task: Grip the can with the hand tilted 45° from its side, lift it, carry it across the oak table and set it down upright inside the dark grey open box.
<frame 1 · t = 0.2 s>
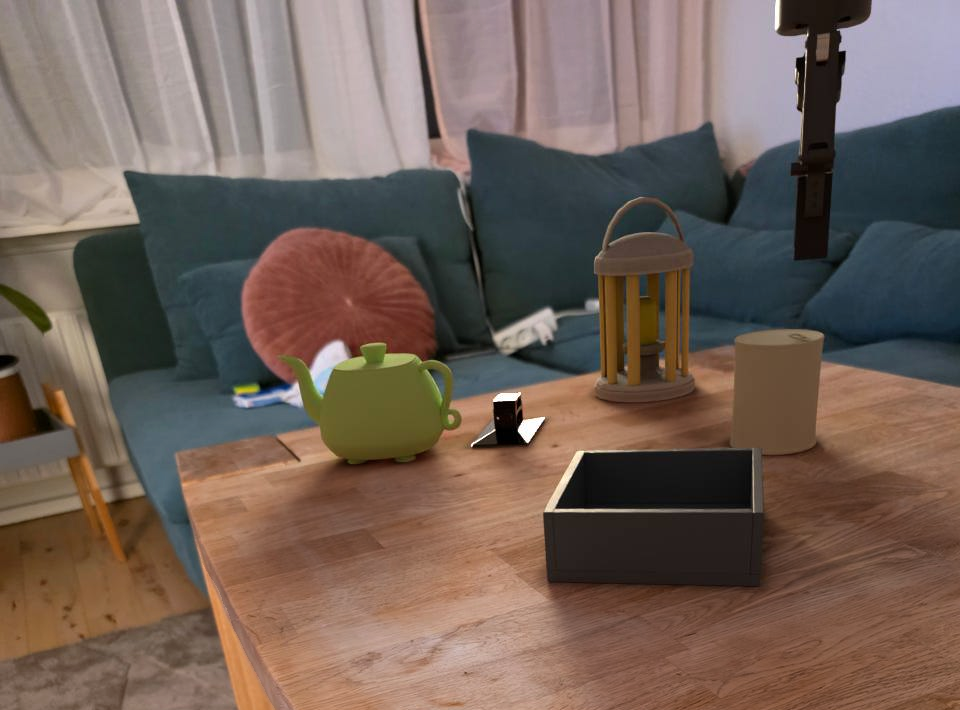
hand: (809, 252, 82), 21 cm above the table, tool pointing down, fingers open, 13 cm apart
lantern: (644, 391, 128), on the table
teapot: (379, 454, 112), on the table
can: (772, 445, 100), on the table
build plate: (510, 434, 115), on the table
dark grey open box: (659, 544, 77), on the table
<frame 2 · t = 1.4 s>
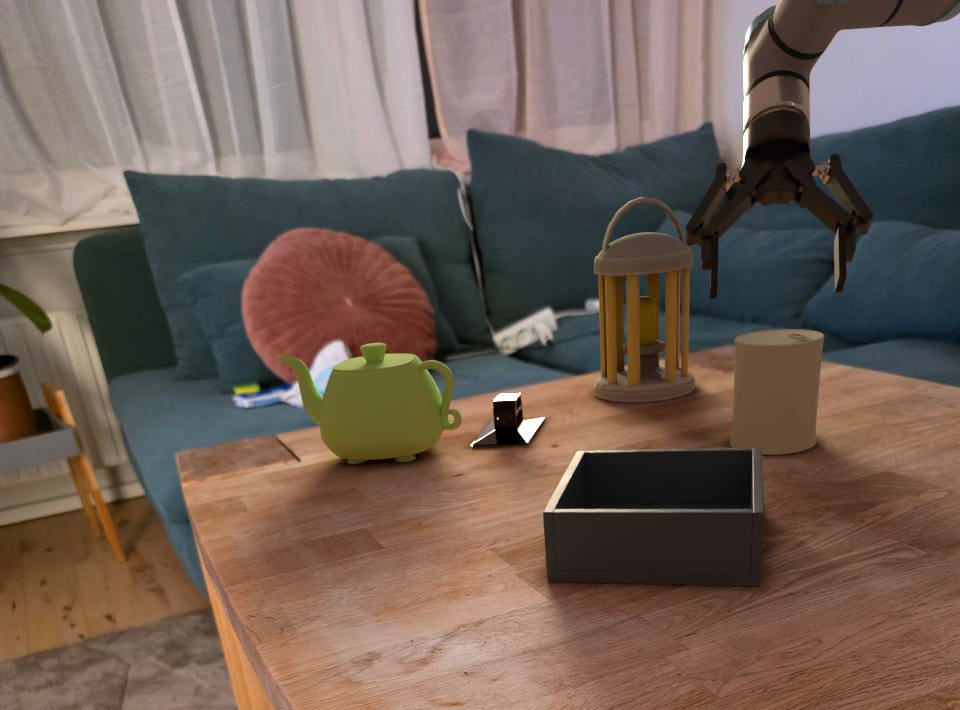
hand: (776, 288, 100), 15 cm above the table, tool tilted 45°, fingers open, 13 cm apart
nothing on the table moved.
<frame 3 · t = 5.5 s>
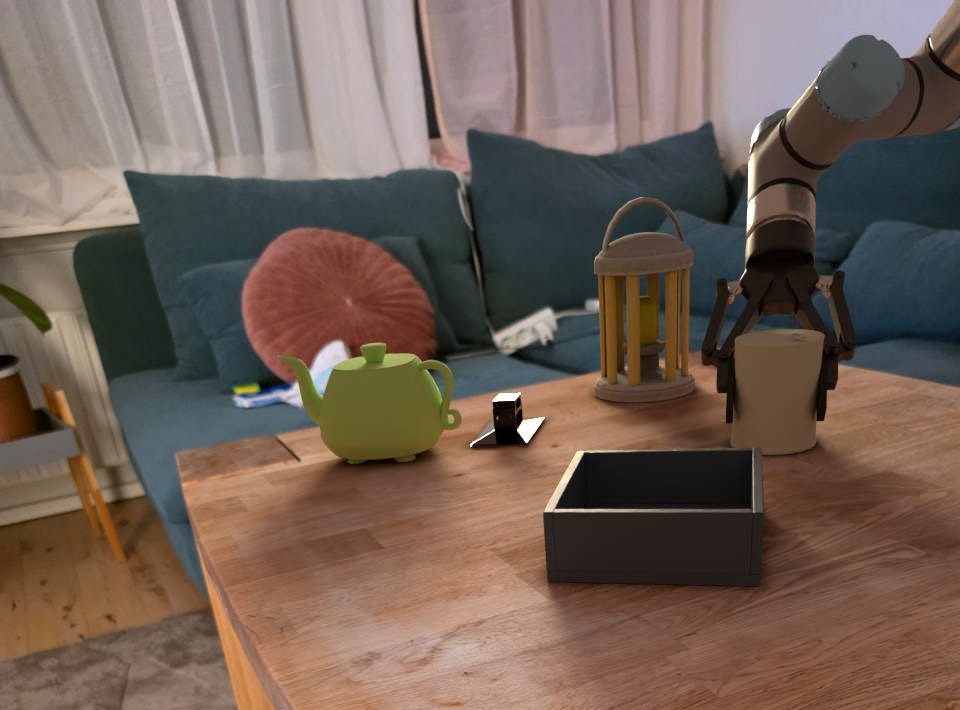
hand: (774, 415, 95), 4 cm above the table, tool tilted 45°, fingers closed on can, 9 cm apart
can: (772, 444, 100), on the table, touching gripper
everything else where it was.
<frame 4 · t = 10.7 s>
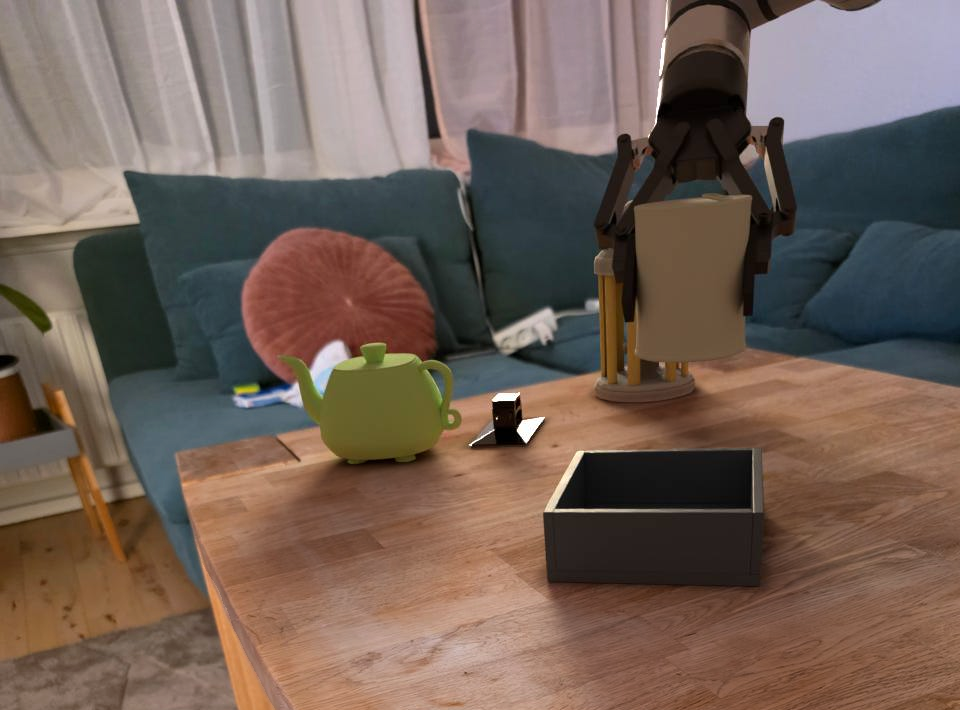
hand: (686, 308, 71), 19 cm above the table, tool tilted 45°, fingers closed on can, 9 cm apart
can: (689, 353, 76), point 15 cm above the table, touching gripper
everything else where it was.
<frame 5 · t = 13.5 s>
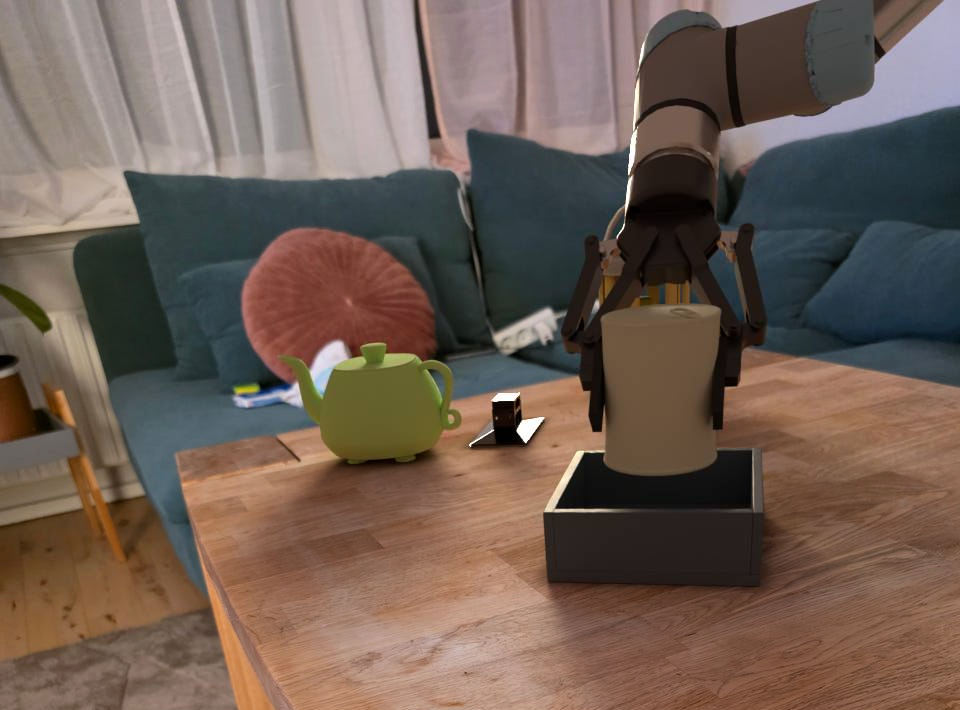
hand: (655, 422, 69), 12 cm above the table, tool tilted 45°, fingers closed on can, 9 cm apart
can: (659, 461, 74), point 7 cm above the table, touching gripper
everything else where it was.
when the fingers open (5 cm above the table, at t = 15.9 s): can stays where it is, resting on dark grey open box.
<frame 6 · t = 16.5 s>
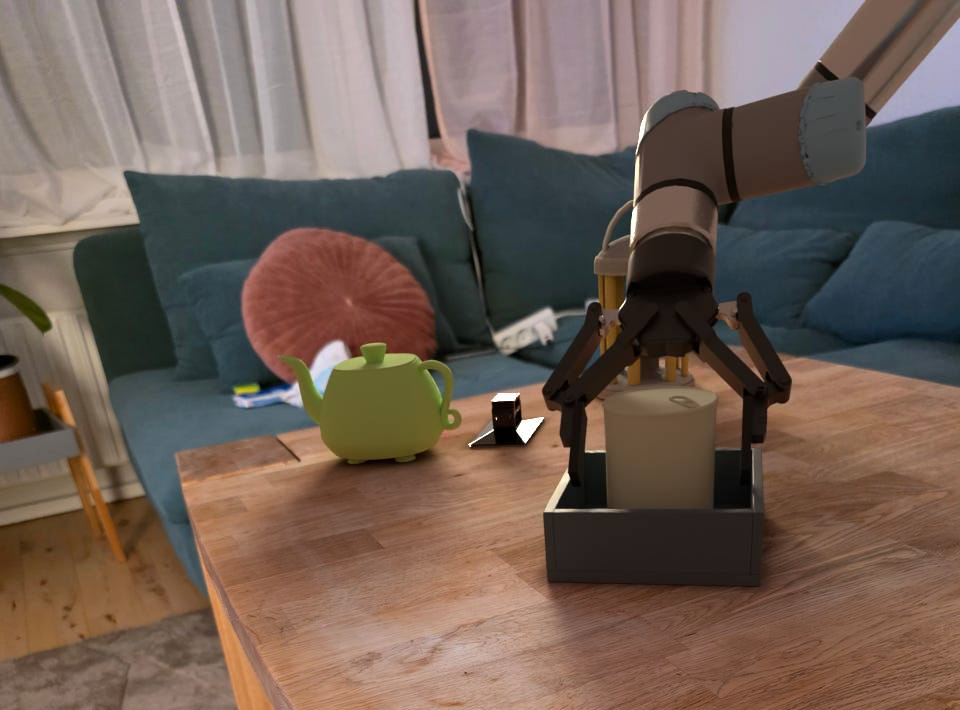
hand: (657, 479, 72), 7 cm above the table, tool tilted 45°, fingers open, 13 cm apart
can: (659, 535, 77), point 1 cm above the table, touching dark grey open box
everything else where it was.
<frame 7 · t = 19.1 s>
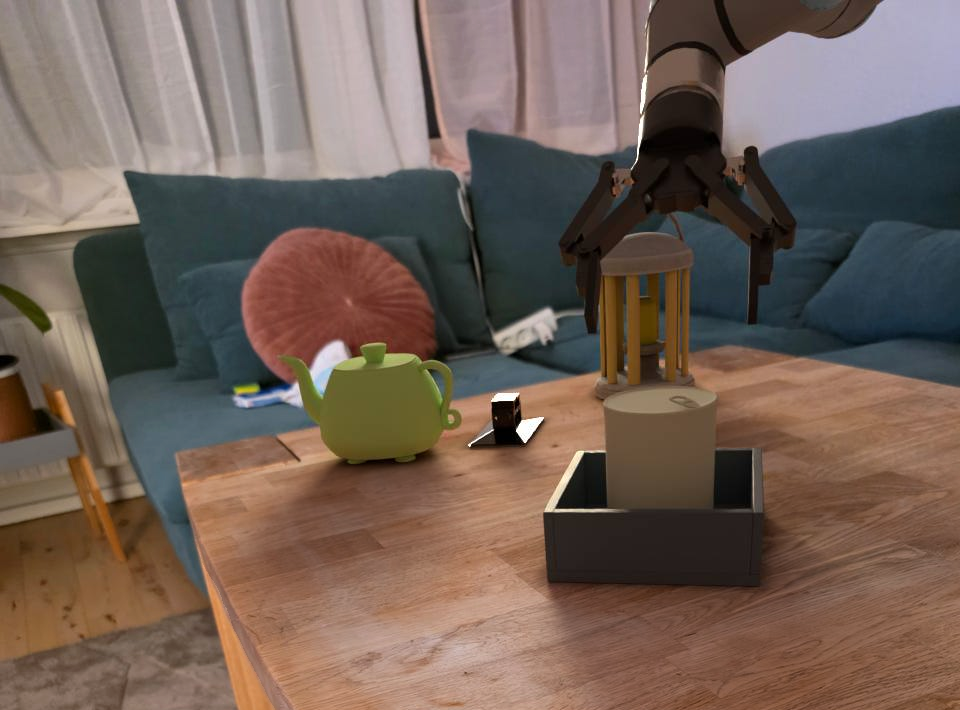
hand: (669, 320, 76), 17 cm above the table, tool tilted 45°, fingers open, 13 cm apart
nothing on the table moved.
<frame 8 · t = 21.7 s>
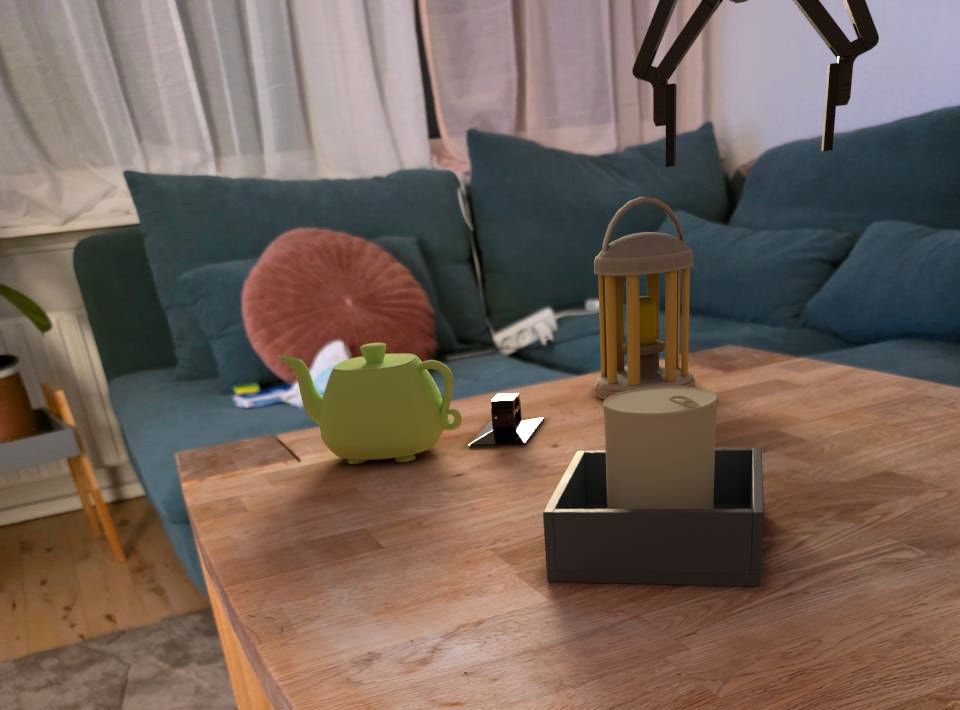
hand: (747, 159, 81), 29 cm above the table, tool pointing down, fingers open, 13 cm apart
nothing on the table moved.
at the end: can inside the target area in the dark grey open box (0.1 cm from its centre), point 0.8 cm above the dark grey open box's base; can tilted 0°; the gripper is holding nothing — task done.
